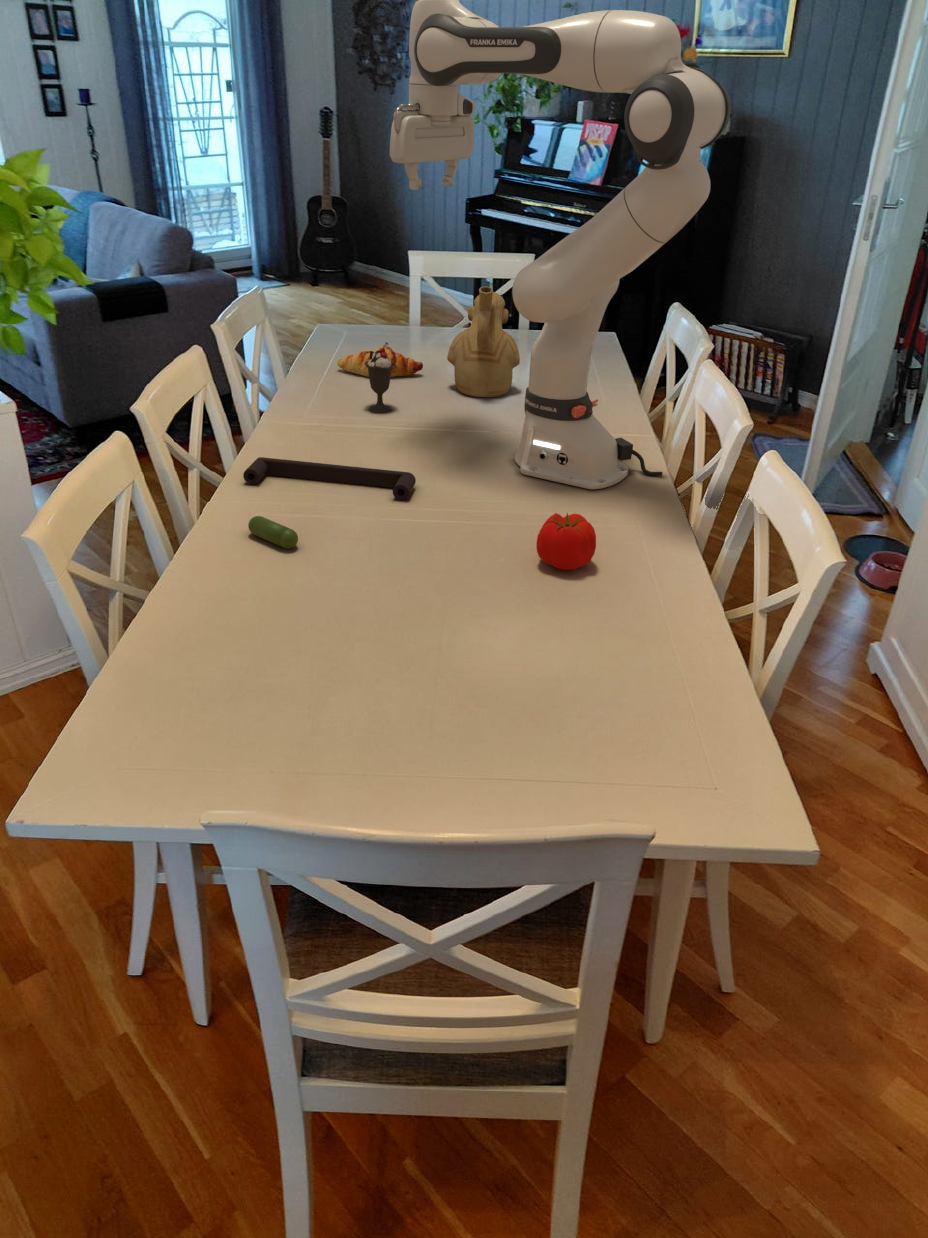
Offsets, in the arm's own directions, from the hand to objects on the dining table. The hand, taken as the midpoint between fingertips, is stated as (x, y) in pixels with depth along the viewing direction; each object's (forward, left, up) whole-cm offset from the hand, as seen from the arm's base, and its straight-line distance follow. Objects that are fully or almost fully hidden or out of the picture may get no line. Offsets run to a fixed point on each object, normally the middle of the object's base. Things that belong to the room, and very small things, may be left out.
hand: (431, 187), depth 174 cm
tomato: (-55, +33, -47) cm, 80 cm away
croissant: (+33, -22, -47) cm, 61 cm away
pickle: (-16, +59, -46) cm, 76 cm away
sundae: (+15, -2, -47) cm, 49 cm away
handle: (-7, +36, -47) cm, 60 cm away
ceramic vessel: (+7, -29, -47) cm, 55 cm away
